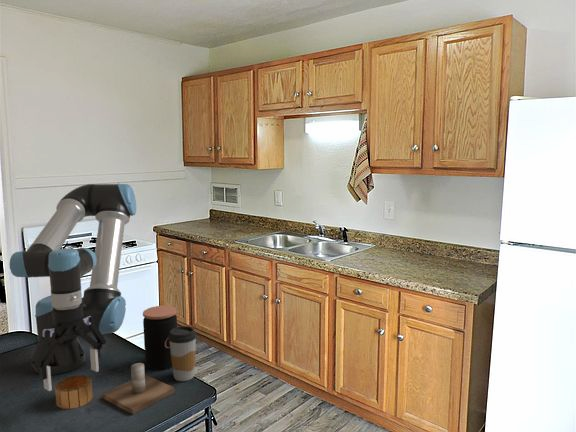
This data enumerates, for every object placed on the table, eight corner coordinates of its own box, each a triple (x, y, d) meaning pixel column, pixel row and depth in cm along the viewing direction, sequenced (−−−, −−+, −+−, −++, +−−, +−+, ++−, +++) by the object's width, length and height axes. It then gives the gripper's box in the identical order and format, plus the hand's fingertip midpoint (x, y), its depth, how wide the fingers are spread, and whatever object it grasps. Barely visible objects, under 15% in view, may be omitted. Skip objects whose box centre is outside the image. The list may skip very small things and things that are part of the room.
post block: (103, 398, 130) (101, 368, 129) (144, 378, 142) (142, 351, 140) (133, 414, 122) (131, 383, 121) (174, 392, 133) (173, 363, 132)
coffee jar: (170, 372, 146) (167, 317, 143) (139, 369, 148) (136, 315, 145) (184, 357, 156) (182, 306, 153) (155, 354, 158) (152, 304, 156)
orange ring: (50, 401, 129) (48, 385, 128) (81, 388, 136) (80, 372, 136) (67, 412, 124) (66, 395, 123) (99, 397, 131) (97, 381, 130)
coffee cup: (186, 367, 149) (184, 323, 146) (203, 375, 143) (201, 329, 141) (164, 377, 142) (162, 331, 140) (181, 386, 137) (179, 338, 135)
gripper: (26, 321, 114) (32, 402, 116) (115, 296, 134) (119, 366, 136) (12, 315, 118) (19, 393, 121) (101, 292, 138) (105, 360, 141)
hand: (72, 379), depth 129 cm, fingers open, 13 cm apart
